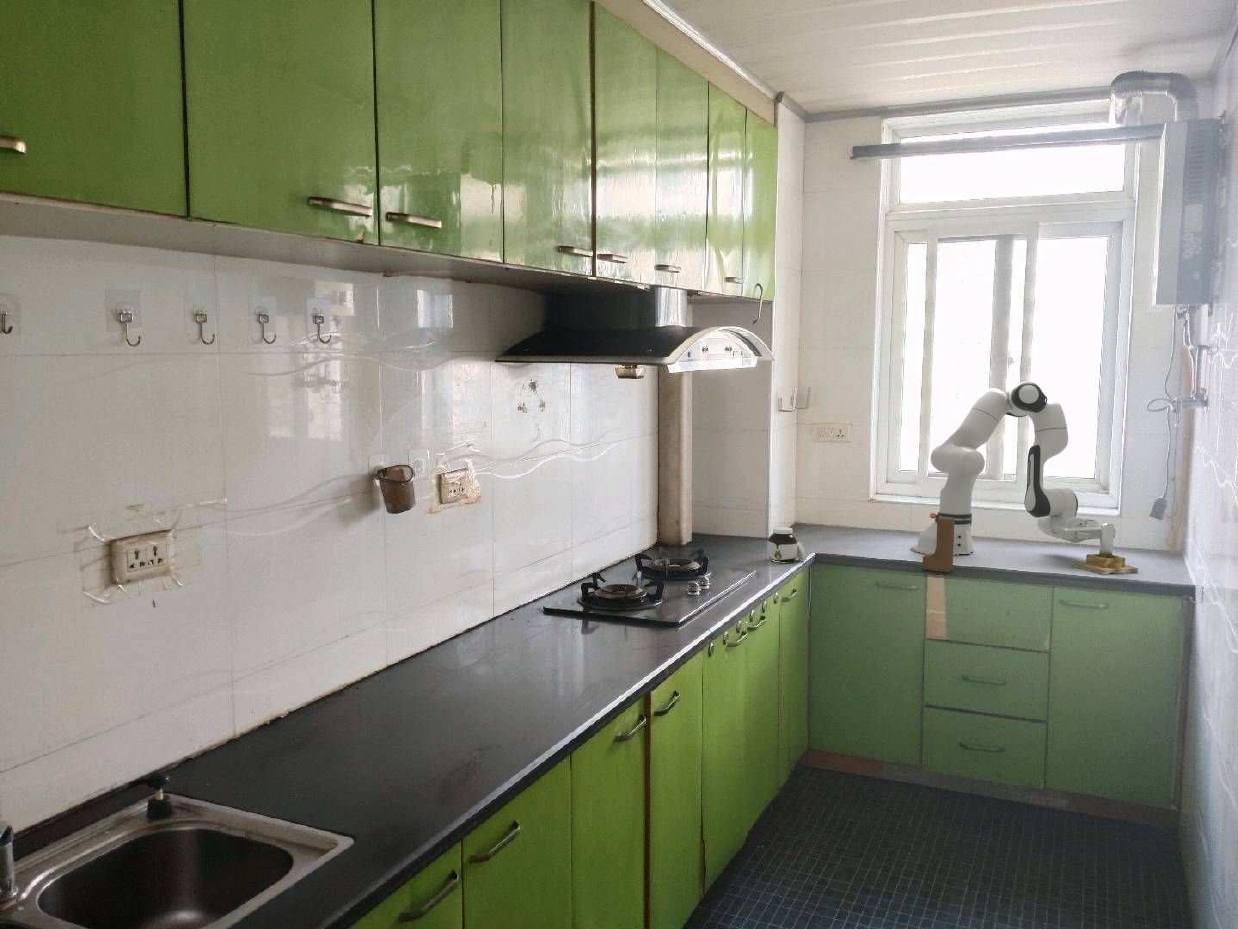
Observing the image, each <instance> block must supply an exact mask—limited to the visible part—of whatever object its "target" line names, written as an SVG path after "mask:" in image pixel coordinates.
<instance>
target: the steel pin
mask: <svg viewBox="0 0 1238 929" xmlns="http://www.w3.org/2000/svg"><path fill="white" fill-rule="evenodd" d="M1100 523H1101V532H1100V539H1099V552H1098V554H1099V557H1101V558H1112V555H1114V551H1113V550H1114V538H1113V536H1114V528H1115V524H1114V523H1110V522H1109V523H1108V522H1100Z"/></svg>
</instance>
